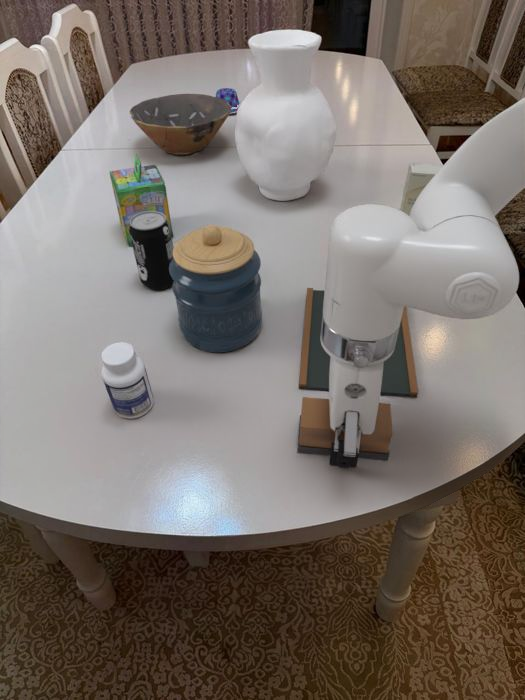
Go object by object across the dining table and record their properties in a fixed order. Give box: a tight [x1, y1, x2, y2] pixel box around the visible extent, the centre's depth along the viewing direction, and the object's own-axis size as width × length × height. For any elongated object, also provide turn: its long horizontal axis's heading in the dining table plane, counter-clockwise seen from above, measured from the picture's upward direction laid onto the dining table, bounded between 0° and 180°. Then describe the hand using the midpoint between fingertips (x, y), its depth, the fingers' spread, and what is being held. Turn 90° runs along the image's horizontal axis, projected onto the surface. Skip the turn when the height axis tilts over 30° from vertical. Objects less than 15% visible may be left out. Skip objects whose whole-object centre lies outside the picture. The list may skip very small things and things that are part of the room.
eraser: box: [296, 396, 394, 461], centre depth 61 cm, size 11×5×5 cm, turn 83°
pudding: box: [215, 87, 243, 115], centre depth 149 cm, size 12×12×5 cm
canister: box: [169, 224, 263, 353], centre depth 72 cm, size 13×13×18 cm
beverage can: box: [129, 211, 174, 291], centre depth 83 cm, size 7×7×12 cm
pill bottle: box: [101, 341, 154, 420], centre depth 64 cm, size 5×5×10 cm
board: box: [298, 287, 419, 399], centre depth 75 cm, size 16×22×1 cm
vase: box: [234, 28, 338, 202], centre depth 101 cm, size 19×21×30 cm
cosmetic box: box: [399, 162, 444, 216], centre depth 95 cm, size 6×4×12 cm
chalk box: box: [109, 154, 174, 247], centre depth 95 cm, size 9×9×15 cm
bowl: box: [129, 93, 232, 156], centre depth 126 cm, size 25×25×10 cm
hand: (342, 435), depth 62 cm, fingers open, 7 cm apart
